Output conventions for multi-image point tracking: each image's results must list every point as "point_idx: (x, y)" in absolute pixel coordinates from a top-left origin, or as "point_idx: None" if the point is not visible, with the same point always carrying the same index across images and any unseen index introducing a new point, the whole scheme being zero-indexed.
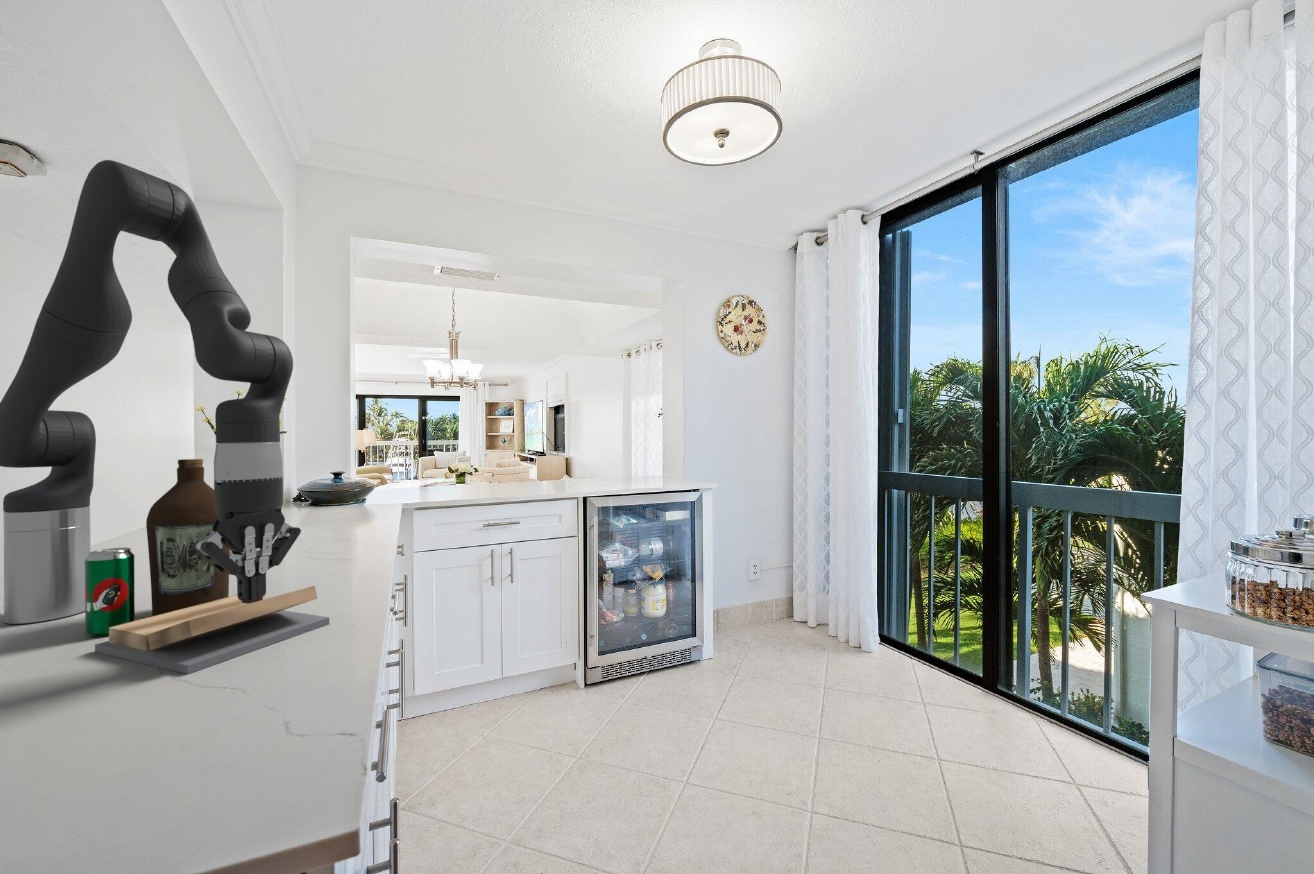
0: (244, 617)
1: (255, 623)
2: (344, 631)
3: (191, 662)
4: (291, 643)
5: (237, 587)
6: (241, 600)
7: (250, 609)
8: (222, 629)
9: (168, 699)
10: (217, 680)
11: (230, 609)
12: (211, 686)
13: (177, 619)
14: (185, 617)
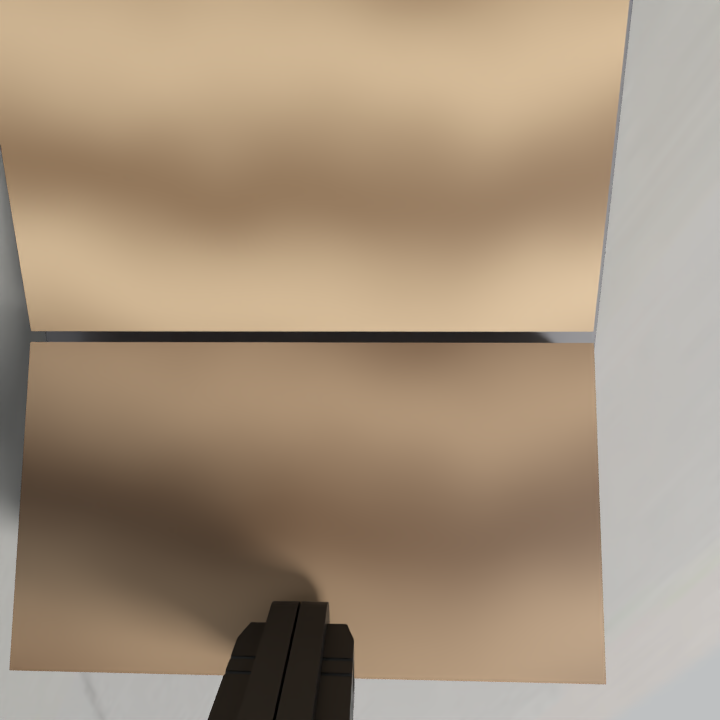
0: None
1: None
2: (509, 689)
3: None
4: None
5: (221, 683)
6: (272, 602)
7: None
8: (324, 342)
9: (14, 683)
10: (121, 683)
11: (177, 671)
12: (97, 703)
13: (195, 204)
14: (228, 208)
